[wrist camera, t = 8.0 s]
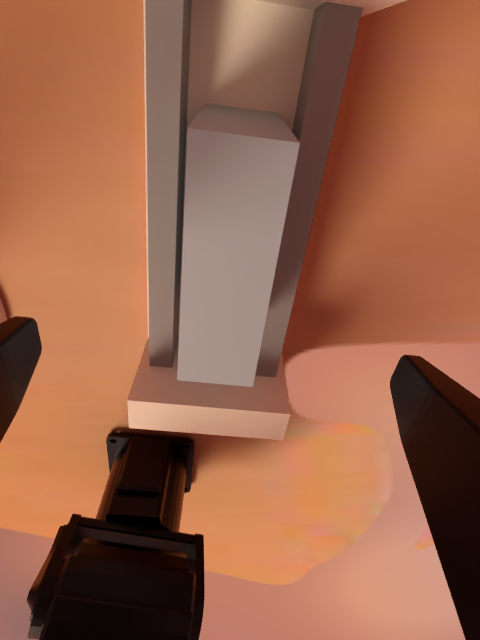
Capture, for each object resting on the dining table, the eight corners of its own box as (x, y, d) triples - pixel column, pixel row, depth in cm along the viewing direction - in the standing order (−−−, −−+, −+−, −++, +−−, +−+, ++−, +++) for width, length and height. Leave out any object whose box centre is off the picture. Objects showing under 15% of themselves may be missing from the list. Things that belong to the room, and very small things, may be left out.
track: (274, 365, 25) (283, 440, 20) (151, 353, 25) (129, 428, 20) (369, -50, 14) (440, -110, 9) (148, -88, 13) (94, -175, 8)
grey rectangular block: (250, 297, 21) (254, 387, 15) (193, 291, 21) (176, 380, 15) (279, 113, 16) (301, 143, 10) (205, 102, 16) (185, 127, 10)
